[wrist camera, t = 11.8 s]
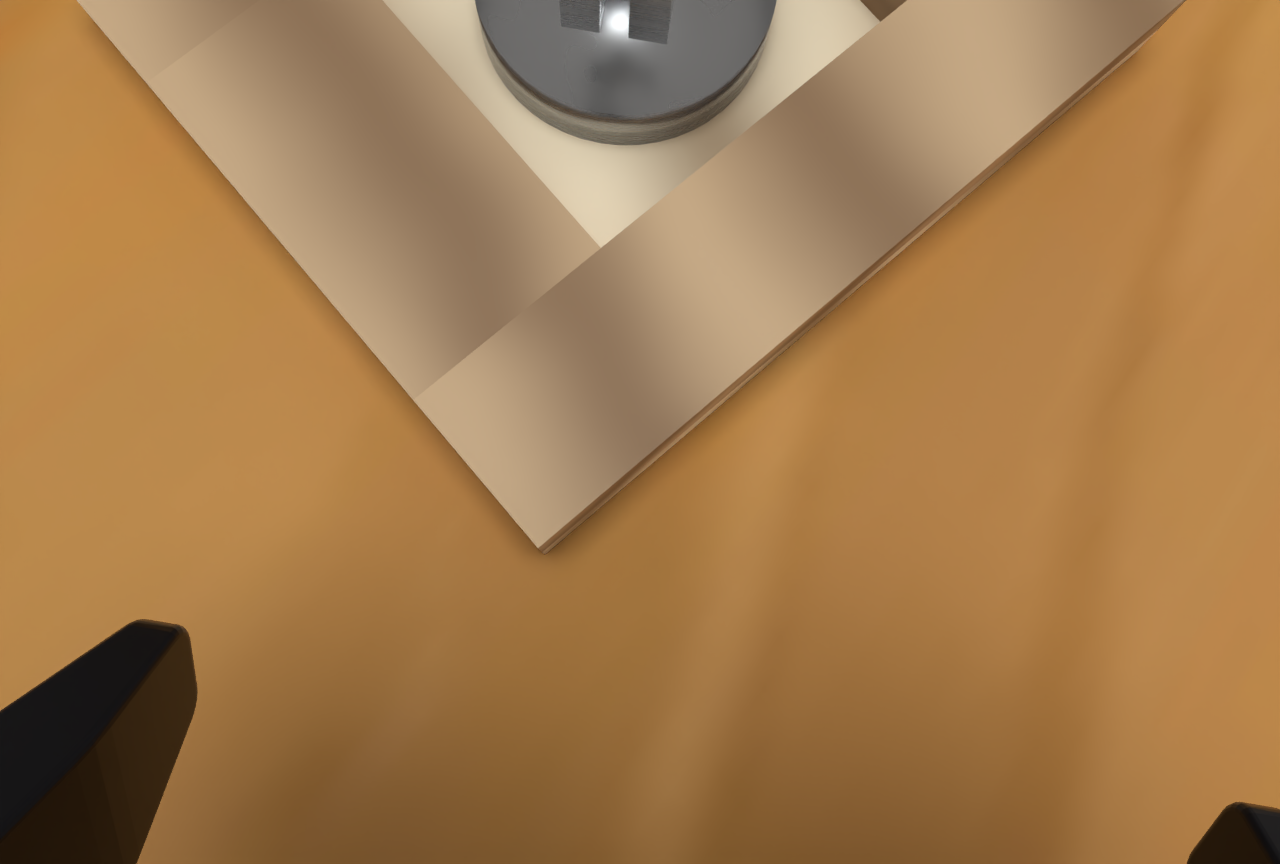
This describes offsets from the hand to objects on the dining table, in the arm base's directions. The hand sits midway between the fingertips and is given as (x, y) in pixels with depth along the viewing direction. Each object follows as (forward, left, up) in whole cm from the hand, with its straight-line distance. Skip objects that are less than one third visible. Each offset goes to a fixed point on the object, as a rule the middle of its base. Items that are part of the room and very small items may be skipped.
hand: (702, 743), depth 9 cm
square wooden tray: (+9, +11, -14) cm, 20 cm away
